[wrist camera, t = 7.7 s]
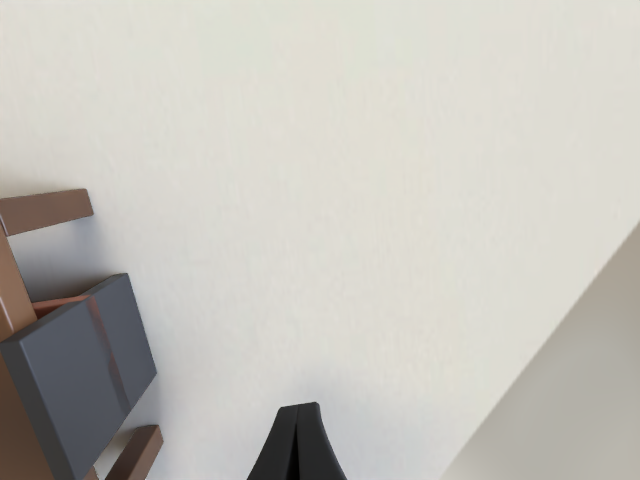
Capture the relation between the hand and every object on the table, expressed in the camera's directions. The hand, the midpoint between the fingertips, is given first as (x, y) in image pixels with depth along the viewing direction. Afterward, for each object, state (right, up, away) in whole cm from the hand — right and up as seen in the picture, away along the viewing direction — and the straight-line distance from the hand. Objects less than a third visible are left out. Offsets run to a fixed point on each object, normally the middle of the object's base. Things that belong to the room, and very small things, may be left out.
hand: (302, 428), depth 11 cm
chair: (-11, +2, +5) cm, 12 cm away
